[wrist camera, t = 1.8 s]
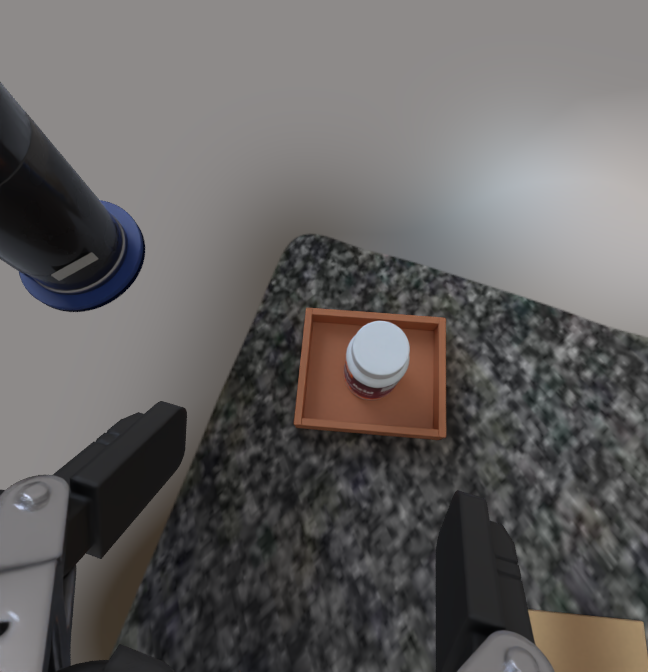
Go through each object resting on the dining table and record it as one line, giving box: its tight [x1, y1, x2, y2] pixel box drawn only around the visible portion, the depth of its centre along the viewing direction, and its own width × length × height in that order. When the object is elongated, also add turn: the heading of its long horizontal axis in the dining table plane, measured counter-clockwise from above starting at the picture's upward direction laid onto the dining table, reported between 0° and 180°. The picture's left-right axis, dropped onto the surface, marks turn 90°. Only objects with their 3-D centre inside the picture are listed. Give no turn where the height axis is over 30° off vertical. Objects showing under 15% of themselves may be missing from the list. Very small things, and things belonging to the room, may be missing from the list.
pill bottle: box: [344, 321, 410, 400], centre depth 34 cm, size 5×5×8 cm
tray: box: [294, 308, 446, 440], centre depth 37 cm, size 12×10×2 cm
